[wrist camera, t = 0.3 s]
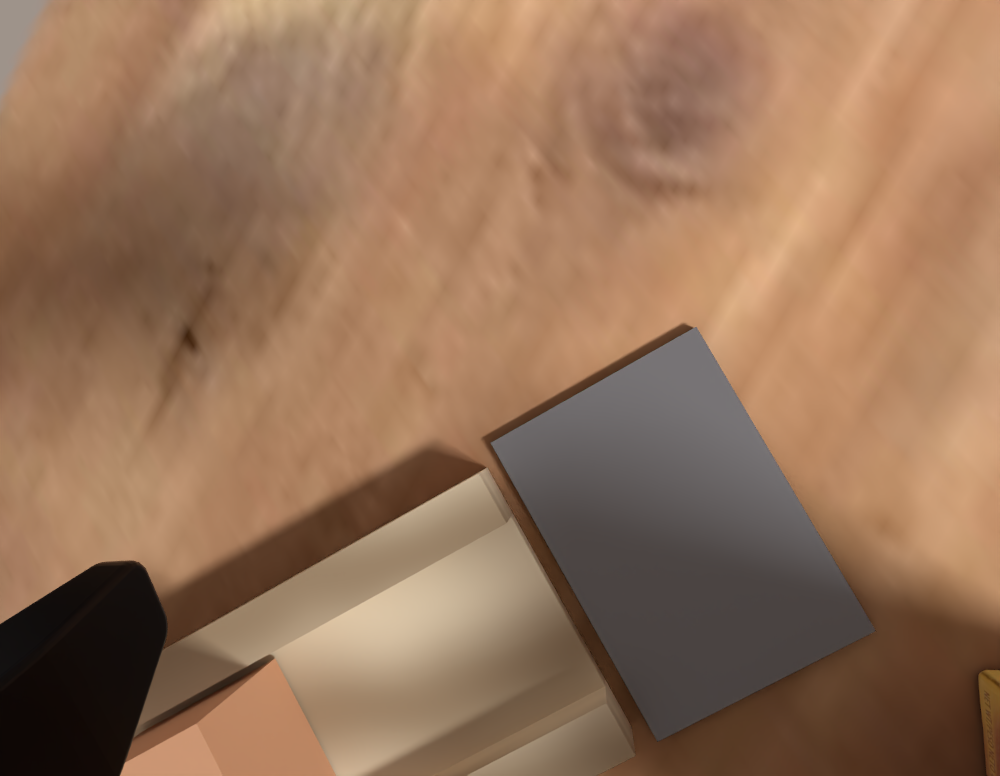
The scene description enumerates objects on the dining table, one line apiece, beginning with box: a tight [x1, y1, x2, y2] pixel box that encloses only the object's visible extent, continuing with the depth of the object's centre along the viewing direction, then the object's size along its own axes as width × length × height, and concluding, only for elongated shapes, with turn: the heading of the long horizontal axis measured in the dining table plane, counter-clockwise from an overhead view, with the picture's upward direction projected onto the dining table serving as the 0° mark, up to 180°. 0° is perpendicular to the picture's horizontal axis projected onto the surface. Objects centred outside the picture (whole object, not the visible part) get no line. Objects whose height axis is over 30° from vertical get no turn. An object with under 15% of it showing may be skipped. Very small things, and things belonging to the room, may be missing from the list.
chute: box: [134, 468, 636, 776], centre depth 22 cm, size 9×17×2 cm, turn 120°
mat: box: [491, 327, 876, 742], centre depth 21 cm, size 10×7×1 cm
